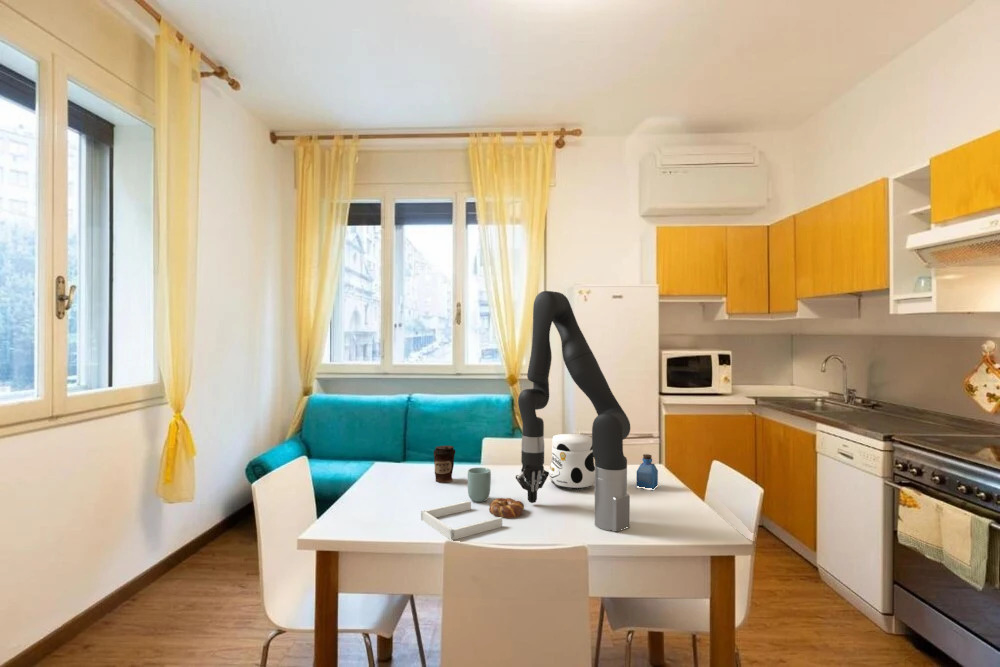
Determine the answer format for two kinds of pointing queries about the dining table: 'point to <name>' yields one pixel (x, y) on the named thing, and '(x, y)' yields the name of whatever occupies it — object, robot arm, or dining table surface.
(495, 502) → the pretzel
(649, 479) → the perfume bottle
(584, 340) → the robot arm
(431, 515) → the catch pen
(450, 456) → the coffee cup
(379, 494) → the dining table surface
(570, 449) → the milk container
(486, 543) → the dining table surface
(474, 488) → the cup
